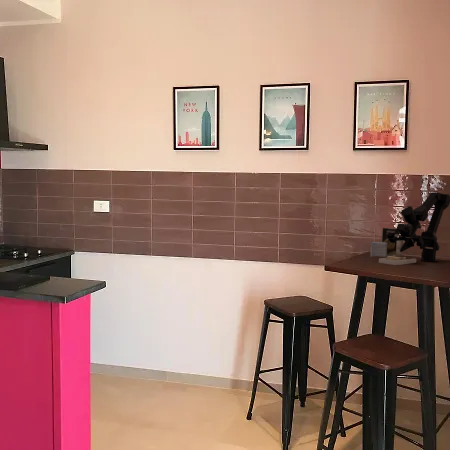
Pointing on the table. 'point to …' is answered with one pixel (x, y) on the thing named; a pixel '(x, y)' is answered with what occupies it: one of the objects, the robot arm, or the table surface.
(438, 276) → the table surface
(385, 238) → the coffee box
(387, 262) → the shelf lane
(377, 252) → the medicine box
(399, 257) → the handle block
